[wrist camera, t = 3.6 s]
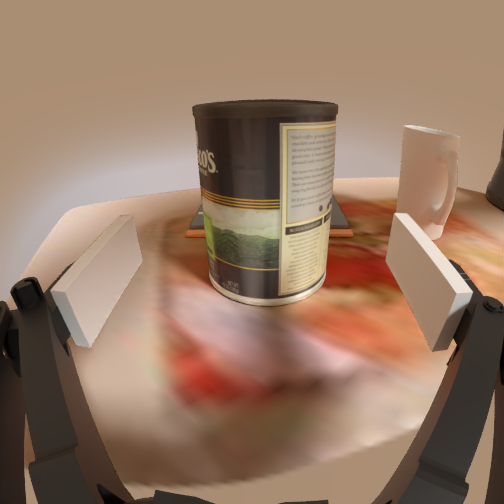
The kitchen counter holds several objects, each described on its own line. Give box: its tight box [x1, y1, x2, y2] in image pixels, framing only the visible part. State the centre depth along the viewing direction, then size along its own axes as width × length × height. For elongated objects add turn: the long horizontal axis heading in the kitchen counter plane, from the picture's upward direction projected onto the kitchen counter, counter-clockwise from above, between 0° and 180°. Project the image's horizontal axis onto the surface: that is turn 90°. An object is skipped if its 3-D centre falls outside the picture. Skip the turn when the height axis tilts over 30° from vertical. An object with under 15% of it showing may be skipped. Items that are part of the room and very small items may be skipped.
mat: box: [190, 194, 349, 229], centre depth 39 cm, size 18×11×1 cm, turn 87°
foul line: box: [185, 229, 353, 237], centre depth 33 cm, size 18×1×1 cm, turn 87°
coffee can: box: [192, 99, 338, 306], centre depth 23 cm, size 10×10×14 cm
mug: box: [396, 125, 460, 240], centre depth 29 cm, size 10×7×12 cm, turn 173°
